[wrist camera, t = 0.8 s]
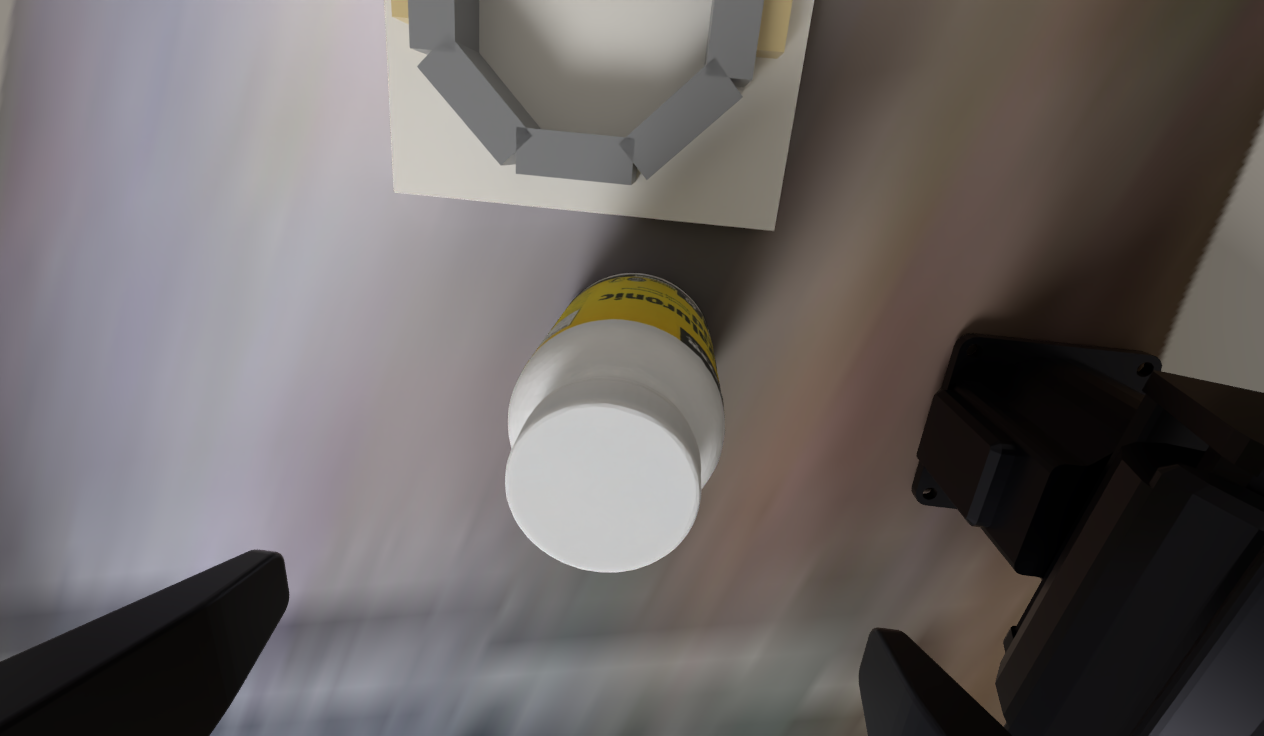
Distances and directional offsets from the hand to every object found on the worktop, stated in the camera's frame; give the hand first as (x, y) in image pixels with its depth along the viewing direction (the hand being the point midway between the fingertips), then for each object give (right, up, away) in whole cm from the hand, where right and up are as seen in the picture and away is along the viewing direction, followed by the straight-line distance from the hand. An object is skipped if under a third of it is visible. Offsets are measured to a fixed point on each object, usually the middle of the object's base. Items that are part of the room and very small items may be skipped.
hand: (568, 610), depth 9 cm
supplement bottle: (+1, +5, +12) cm, 13 cm away
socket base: (0, +14, +8) cm, 16 cm away
